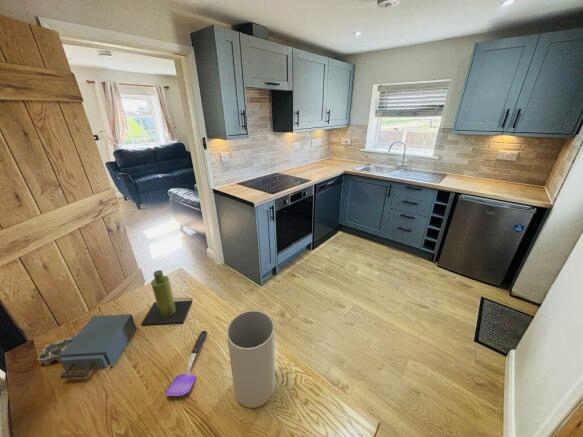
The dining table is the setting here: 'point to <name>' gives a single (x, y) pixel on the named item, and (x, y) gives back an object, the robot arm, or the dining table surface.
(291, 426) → the dining table surface
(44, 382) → the dining table surface
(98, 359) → the drawer
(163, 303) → the oil bottle
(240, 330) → the cylinder vase
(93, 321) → the cabinet
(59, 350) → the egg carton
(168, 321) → the mat
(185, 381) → the spatula
